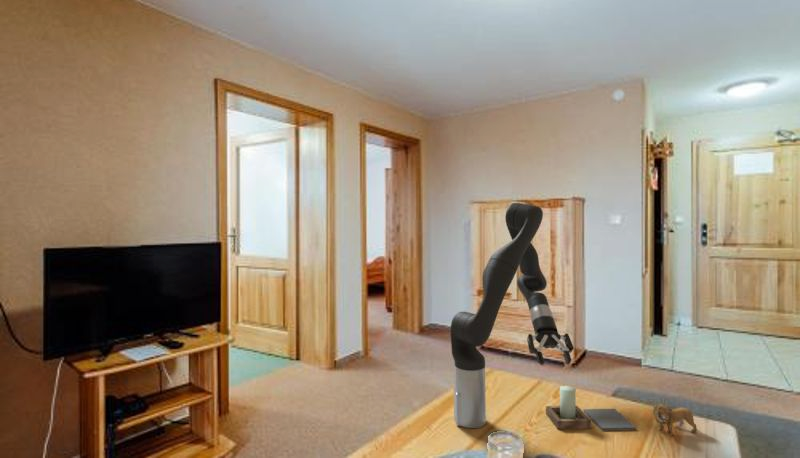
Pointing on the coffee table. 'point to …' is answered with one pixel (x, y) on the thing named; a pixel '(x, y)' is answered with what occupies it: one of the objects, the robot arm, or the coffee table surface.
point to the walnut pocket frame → (562, 424)
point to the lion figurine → (672, 417)
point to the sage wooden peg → (567, 403)
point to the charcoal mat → (609, 419)
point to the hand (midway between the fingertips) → (555, 364)
